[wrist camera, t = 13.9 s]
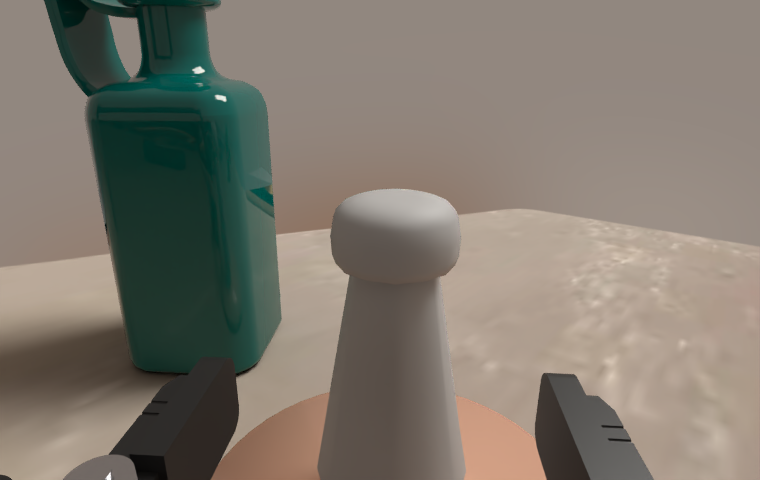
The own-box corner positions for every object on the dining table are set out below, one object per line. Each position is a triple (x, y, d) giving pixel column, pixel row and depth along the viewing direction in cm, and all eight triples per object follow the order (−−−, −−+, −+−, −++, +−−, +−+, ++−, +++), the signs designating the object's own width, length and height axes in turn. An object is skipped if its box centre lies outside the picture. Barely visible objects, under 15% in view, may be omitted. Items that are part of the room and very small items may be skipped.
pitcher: (287, 315, 38) (267, -4, 31) (252, 381, 30) (214, -28, 23) (163, 309, 39) (114, -4, 31) (97, 373, 31) (10, -27, 23)
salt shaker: (429, 600, 17) (448, 236, 12) (290, 531, 19) (267, 207, 15) (479, 479, 22) (505, 188, 17) (363, 437, 24) (362, 171, 20)
